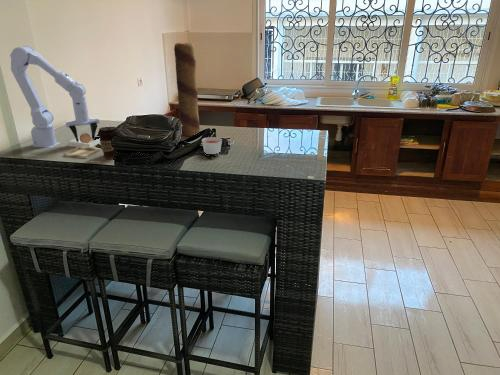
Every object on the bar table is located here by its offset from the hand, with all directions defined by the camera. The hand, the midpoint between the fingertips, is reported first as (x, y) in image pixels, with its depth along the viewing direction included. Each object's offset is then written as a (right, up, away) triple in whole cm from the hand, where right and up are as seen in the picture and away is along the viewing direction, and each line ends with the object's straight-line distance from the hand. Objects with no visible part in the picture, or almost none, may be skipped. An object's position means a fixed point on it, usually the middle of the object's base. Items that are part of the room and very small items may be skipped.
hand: (85, 140), depth 185 cm
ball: (0, -2, +1) cm, 2 cm away
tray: (+4, -8, -12) cm, 15 cm away
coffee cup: (+18, -9, -15) cm, 25 cm away
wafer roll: (+46, +5, +20) cm, 51 cm away
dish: (0, -2, +1) cm, 2 cm away
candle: (+61, -7, -8) cm, 62 cm away
